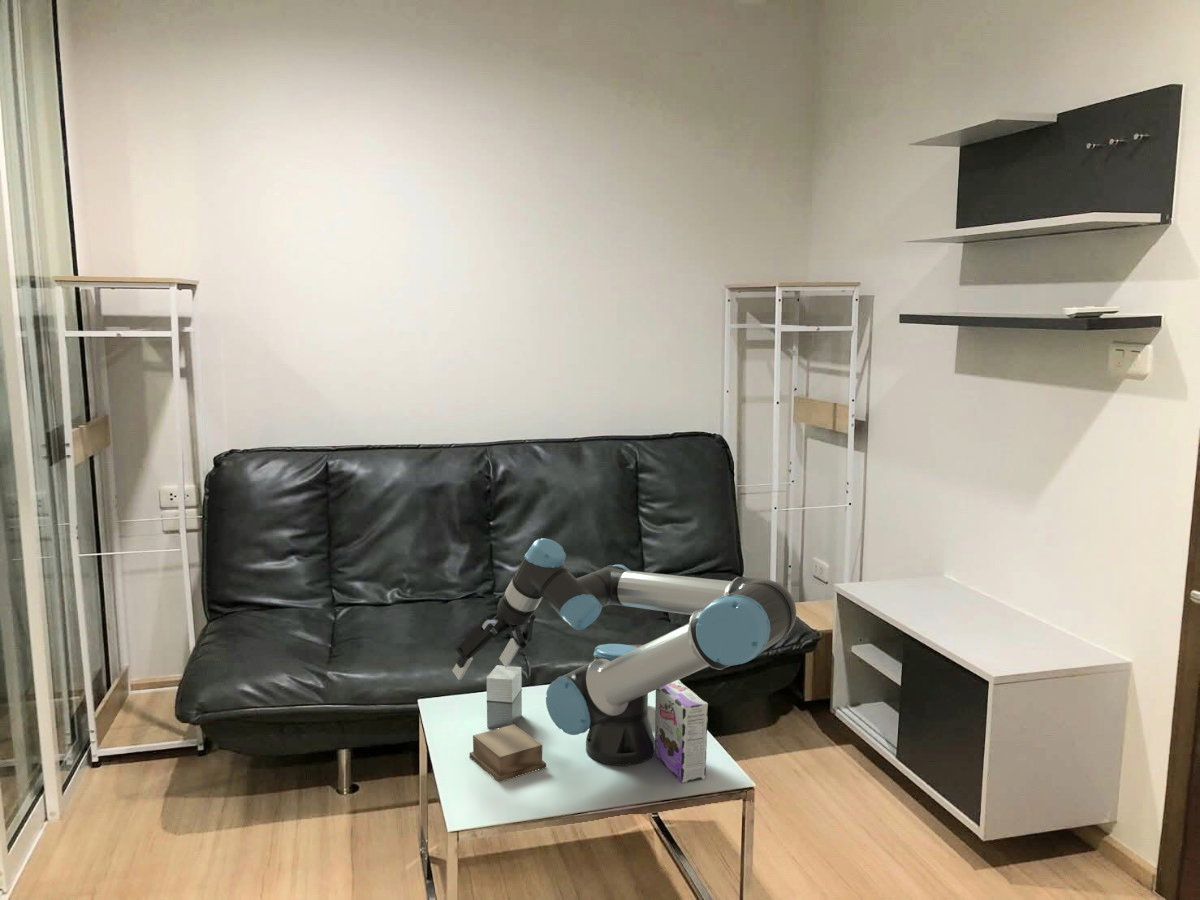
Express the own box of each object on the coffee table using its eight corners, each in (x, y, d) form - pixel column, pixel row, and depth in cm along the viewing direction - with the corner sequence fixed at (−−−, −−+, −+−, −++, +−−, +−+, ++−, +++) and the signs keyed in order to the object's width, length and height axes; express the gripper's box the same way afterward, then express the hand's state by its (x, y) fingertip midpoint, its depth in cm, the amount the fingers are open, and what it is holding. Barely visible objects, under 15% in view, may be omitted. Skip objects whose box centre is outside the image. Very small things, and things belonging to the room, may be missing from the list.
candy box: (653, 754, 206) (654, 681, 204) (678, 750, 208) (679, 678, 206) (681, 783, 194) (682, 706, 191) (707, 779, 196) (709, 702, 193)
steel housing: (522, 715, 226) (521, 666, 224) (512, 730, 218) (512, 680, 216) (497, 713, 227) (496, 665, 225) (486, 727, 219) (486, 677, 217)
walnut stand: (515, 744, 211) (515, 722, 210) (546, 767, 200) (546, 745, 199) (469, 757, 205) (469, 735, 204) (498, 782, 194) (498, 759, 193)
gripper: (551, 580, 214) (512, 645, 223) (465, 596, 195) (427, 667, 205) (570, 604, 210) (530, 669, 219) (484, 623, 191) (444, 693, 201)
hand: (480, 668), depth 212 cm, fingers open, 13 cm apart
